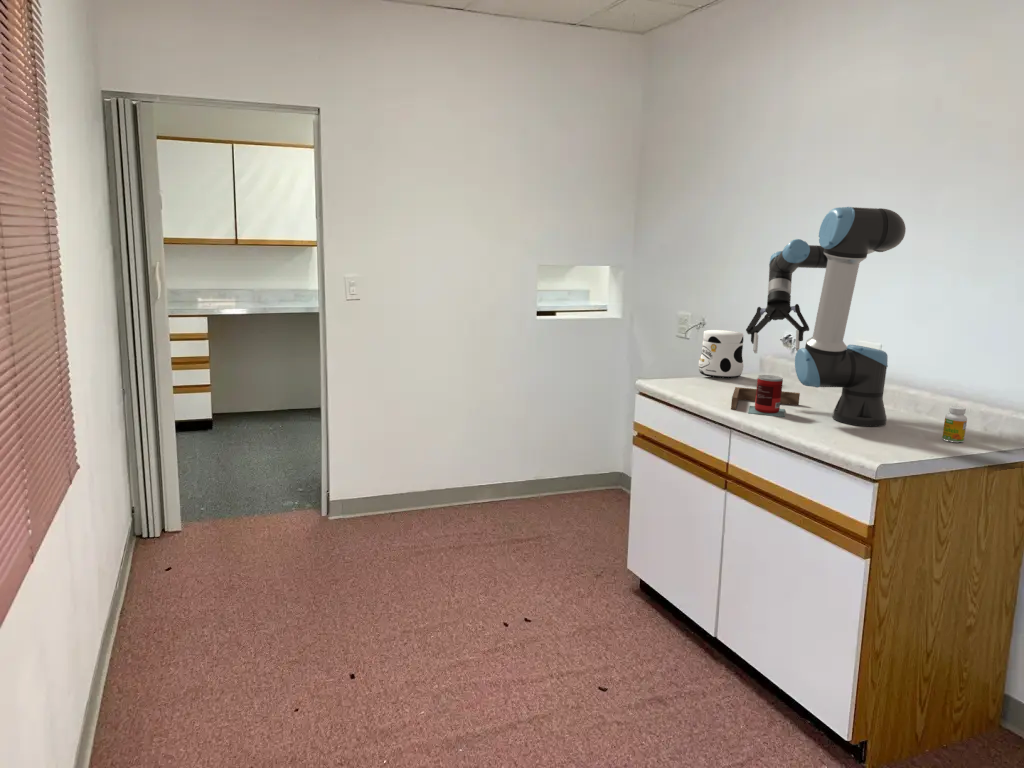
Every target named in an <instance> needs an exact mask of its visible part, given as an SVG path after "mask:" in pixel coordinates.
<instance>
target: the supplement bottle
mask: <svg viewBox="0 0 1024 768" xmlns="http://www.w3.org/2000/svg"><path fill="white" fill-rule="evenodd" d="M948 412H949V413H947V414H945V417H944V424H943V429H942V434H941V435H942V436H941V438H943V439H945V440H948V441H953V442H963V441H964V442H965V436H966V430H967V422H968V417H967V416H966V415H965V414H966V407H963V406H957V405H950V406H949V409H948ZM943 439H942V440H943ZM964 442H963V443H964Z"/></svg>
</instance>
